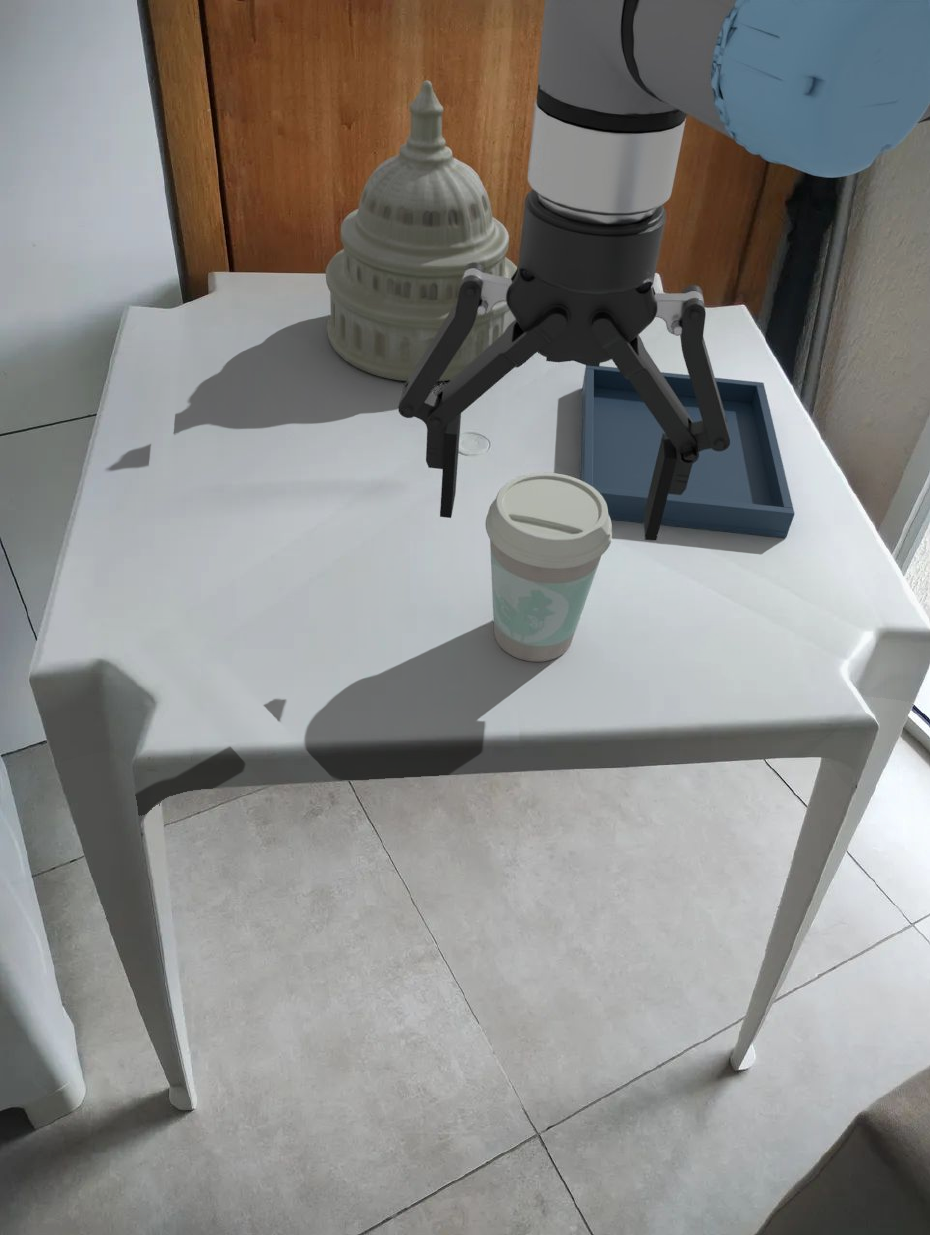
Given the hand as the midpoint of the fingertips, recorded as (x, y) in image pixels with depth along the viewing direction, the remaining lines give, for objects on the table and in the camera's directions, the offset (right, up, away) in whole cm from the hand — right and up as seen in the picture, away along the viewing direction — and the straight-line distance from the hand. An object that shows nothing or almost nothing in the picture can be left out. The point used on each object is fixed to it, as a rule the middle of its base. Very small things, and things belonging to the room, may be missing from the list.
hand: (548, 516), depth 67 cm
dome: (-10, +23, +40) cm, 47 cm away
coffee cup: (-1, -8, +7) cm, 11 cm away
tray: (+14, +8, +26) cm, 31 cm away
